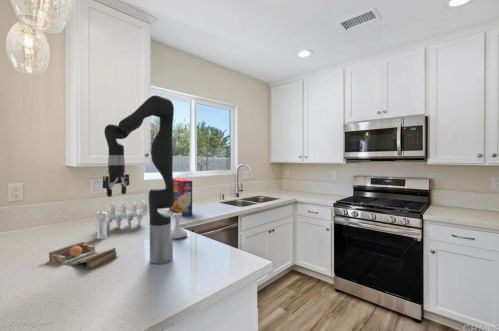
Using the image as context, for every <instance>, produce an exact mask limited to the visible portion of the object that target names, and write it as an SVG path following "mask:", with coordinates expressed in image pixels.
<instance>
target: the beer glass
mask: <svg viewBox="0 0 499 331" xmlns="http://www.w3.org/2000/svg"><path fill="white" fill-rule="evenodd" d="M109 214H110V211H108V210H100V211H97V212H95V216H94V217H95V220H94V221H95V226H96V231H97V232H96V233H97V234H96V239H97V240H105V239H107V238H109V229H108V226H109Z"/></svg>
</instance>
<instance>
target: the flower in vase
mask: <svg viewBox="0 0 499 331" xmlns="http://www.w3.org/2000/svg"><path fill="white" fill-rule="evenodd" d="M177 204H178V205H179V207H183V208H181V209H182V211H184V212H185V211H188V209H187V208H186V206H187V207H188V206H189V205H190V200H189V198H188V197H187V196H185V195H182V196H180V197H178V200H177ZM174 210H175V209H174ZM175 211H178V210H175ZM180 211H181V210H180ZM180 211H178V212H180ZM172 215H173V217H174V219H175V225H174V226H173V228H172V229H171V239H182V238H185V237H187V236H188V232H187V230H185V229H184V228H183V227H182V226H180V225H181V224H180V219H181V215H182V214H181V213H175V212H174V213H173V214H172Z"/></svg>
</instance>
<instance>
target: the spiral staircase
mask: <svg viewBox="0 0 499 331" xmlns="http://www.w3.org/2000/svg"><path fill="white" fill-rule="evenodd" d="M120 207H121V209H120V212H117V210H116V206H115V202H112V204H111V207H110V209H111V212H110V213H109V226H108V231H110V229H111V223H112V222H113V221H115V222H116V223H117V224H116V226H117V227H118V229H121V225H122V224H121V223H122V222H121V221H122V220H123V219H126V220H127V224H128V227H129V229H131V228H132V227H131V226H132V221H133V220H134V218H136V219H137V224H138V226H139V227H141V223H142V222H141V220H143V217H144V216H147V211H148V208H147V204H146V201H145V200H142V201H141V204H140V209H138V208H137V204H136V201H135V200H134V201H132V203H131V208H130V209H131V210H130V211H128V210H127V206H126V204H125V201H122V202H121V206H120Z"/></svg>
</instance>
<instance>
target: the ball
mask: <svg viewBox="0 0 499 331" xmlns="http://www.w3.org/2000/svg"><path fill="white" fill-rule="evenodd" d="M81 253H82V248H81V247H79V246H74V247H72V248H71V249H70V251H69V254H70V256H71V257H77V256H79V255H80V254H81Z"/></svg>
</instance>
